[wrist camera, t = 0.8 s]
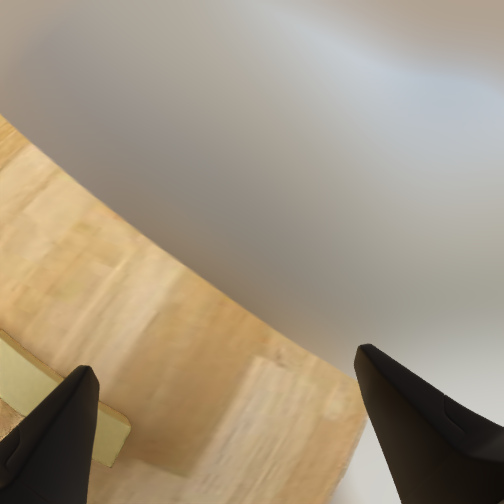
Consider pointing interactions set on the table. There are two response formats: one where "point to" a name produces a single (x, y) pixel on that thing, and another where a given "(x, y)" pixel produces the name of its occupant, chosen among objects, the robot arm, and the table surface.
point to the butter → (41, 385)
